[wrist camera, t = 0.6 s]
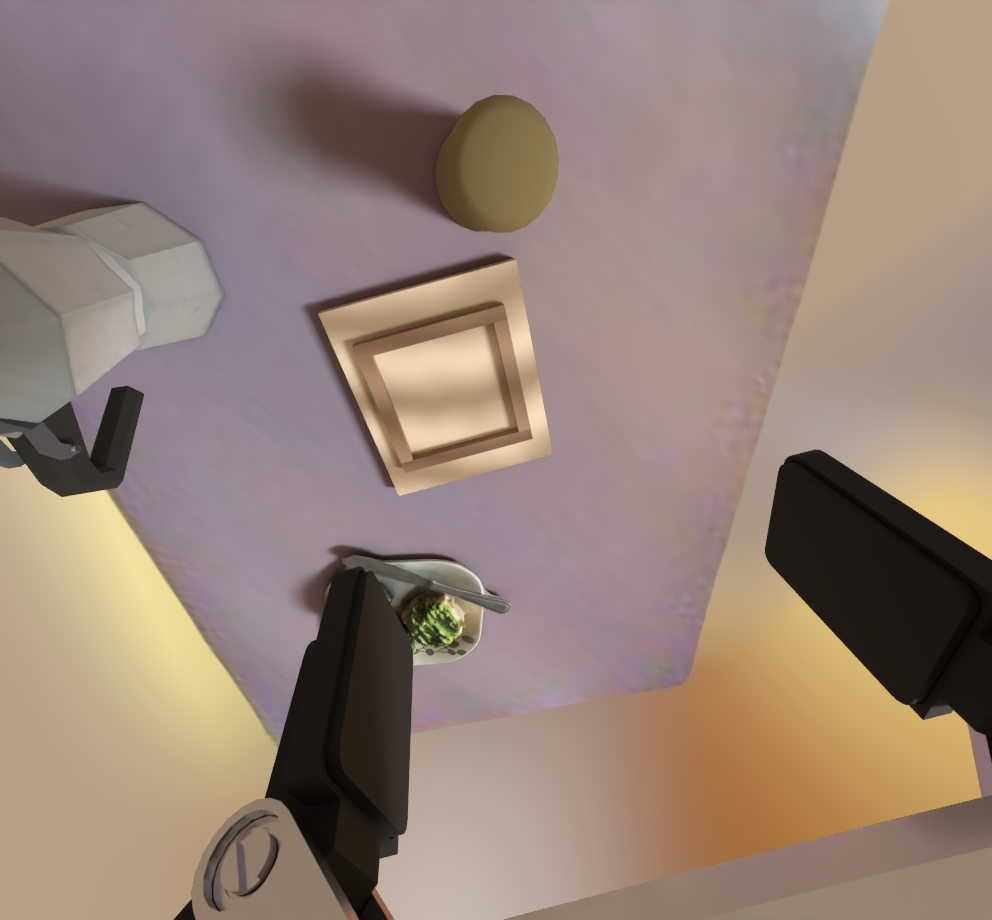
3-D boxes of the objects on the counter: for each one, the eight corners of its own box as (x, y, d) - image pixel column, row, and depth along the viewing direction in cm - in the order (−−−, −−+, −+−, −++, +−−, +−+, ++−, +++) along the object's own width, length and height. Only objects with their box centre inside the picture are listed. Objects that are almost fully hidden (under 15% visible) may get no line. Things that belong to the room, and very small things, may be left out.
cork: (416, 152, 26) (407, 123, 17) (503, 98, 26) (544, 37, 16) (463, 249, 30) (477, 269, 20) (542, 203, 29) (595, 203, 19)
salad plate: (515, 539, 44) (523, 571, 40) (500, 649, 53) (505, 685, 49) (317, 543, 41) (306, 578, 37) (336, 659, 50) (328, 698, 46)
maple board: (321, 310, 30) (315, 316, 29) (513, 257, 30) (517, 261, 28) (399, 488, 39) (398, 501, 37) (549, 447, 39) (554, 459, 37)
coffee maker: (12, 169, 25) (-687, 112, 9) (169, 149, 25) (-247, 62, 10) (152, 407, 32) (-100, 590, 17) (270, 388, 33) (128, 551, 17)
